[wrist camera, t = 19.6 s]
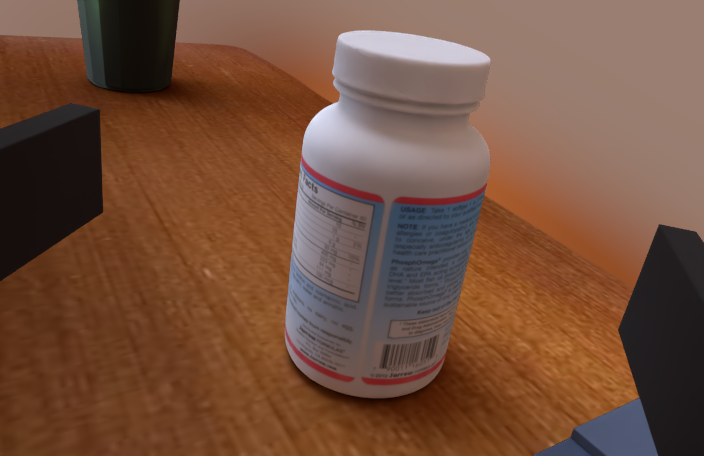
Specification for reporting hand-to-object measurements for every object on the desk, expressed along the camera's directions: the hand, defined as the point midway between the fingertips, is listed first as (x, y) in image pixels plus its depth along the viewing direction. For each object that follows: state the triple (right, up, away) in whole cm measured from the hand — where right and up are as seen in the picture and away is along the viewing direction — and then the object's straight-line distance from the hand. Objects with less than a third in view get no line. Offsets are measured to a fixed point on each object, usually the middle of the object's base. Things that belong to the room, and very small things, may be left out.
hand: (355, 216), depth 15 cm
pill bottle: (0, -5, +9) cm, 10 cm away
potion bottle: (-18, +12, +38) cm, 44 cm away
